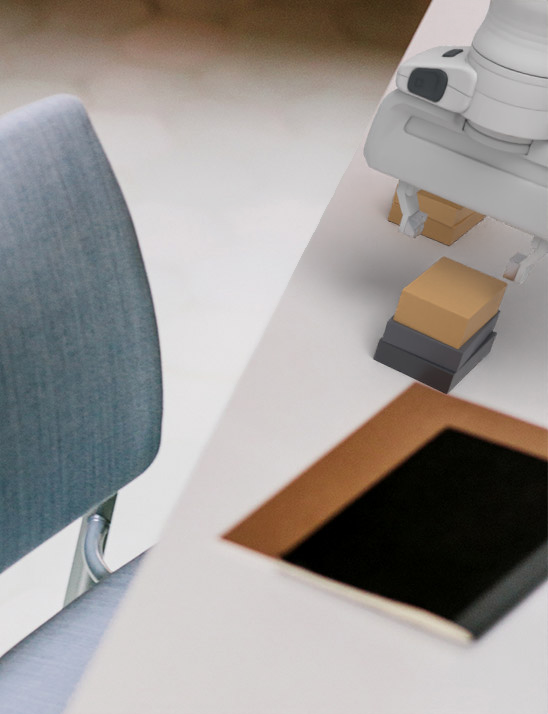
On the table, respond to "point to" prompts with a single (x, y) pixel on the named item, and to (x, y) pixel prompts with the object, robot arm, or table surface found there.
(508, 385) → the table surface
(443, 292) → the tan rectangular block
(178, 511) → the table surface
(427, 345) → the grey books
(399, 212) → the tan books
